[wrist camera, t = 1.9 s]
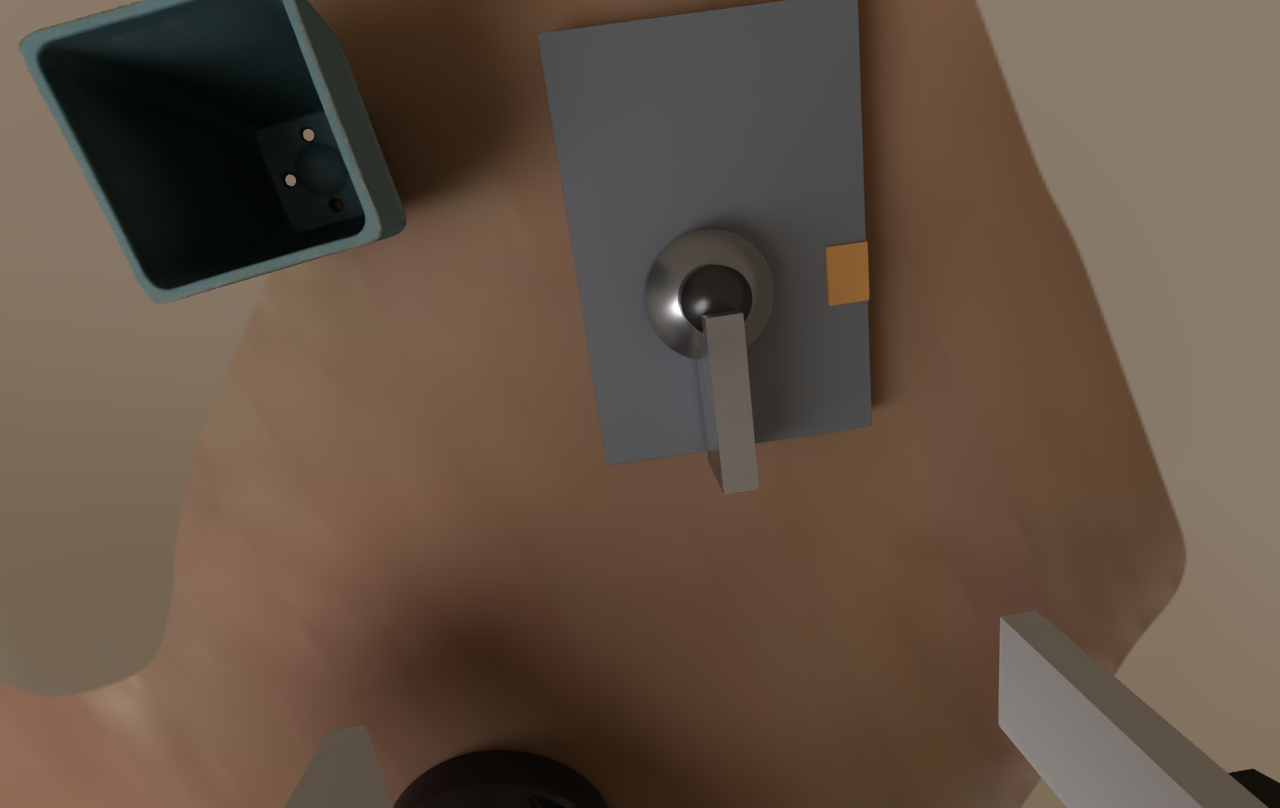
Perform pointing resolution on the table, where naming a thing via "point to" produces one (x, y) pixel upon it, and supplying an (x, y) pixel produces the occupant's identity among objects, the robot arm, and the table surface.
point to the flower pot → (216, 137)
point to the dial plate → (718, 206)
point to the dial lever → (715, 335)
